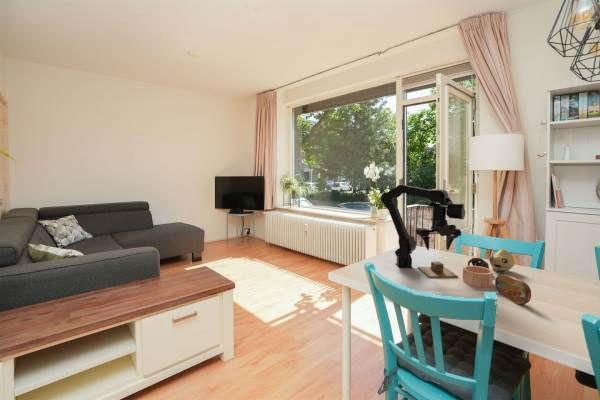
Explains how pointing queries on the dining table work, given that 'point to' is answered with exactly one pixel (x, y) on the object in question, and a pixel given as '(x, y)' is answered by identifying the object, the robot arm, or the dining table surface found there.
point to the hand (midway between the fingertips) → (437, 249)
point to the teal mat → (436, 278)
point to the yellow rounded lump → (502, 261)
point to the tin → (513, 289)
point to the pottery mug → (476, 262)
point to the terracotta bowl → (477, 276)
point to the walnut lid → (437, 271)
